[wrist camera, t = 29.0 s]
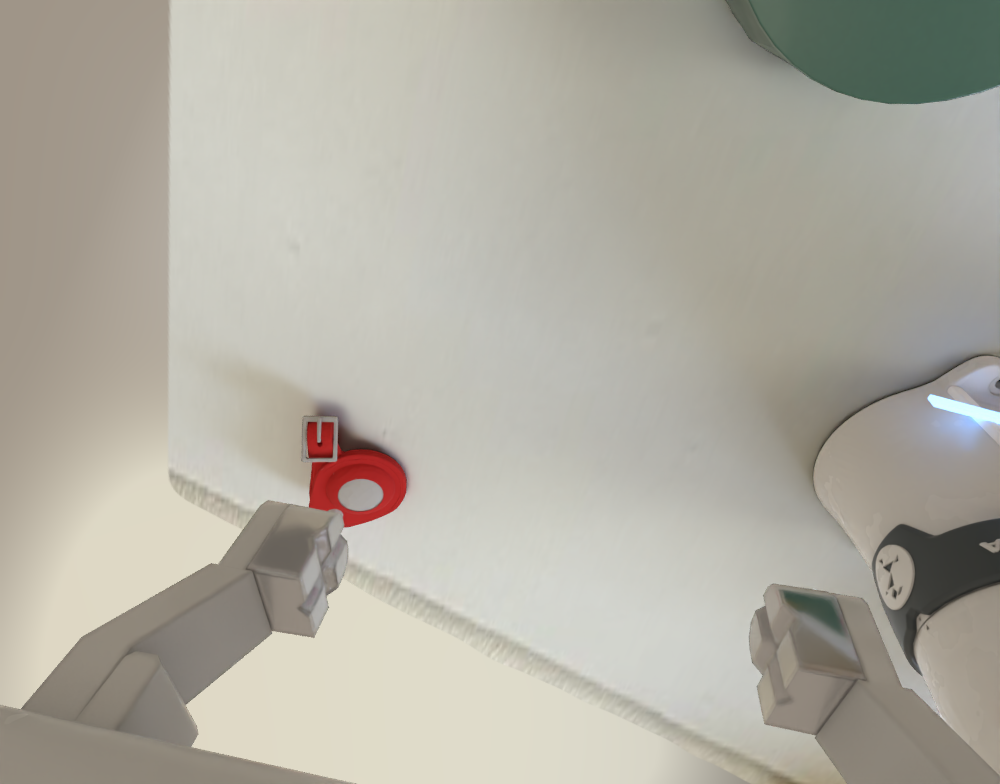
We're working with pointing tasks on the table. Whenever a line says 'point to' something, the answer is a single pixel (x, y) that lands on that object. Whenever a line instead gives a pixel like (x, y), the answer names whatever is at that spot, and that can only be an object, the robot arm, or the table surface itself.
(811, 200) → the table surface
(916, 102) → the tin lid
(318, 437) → the tracker holder
